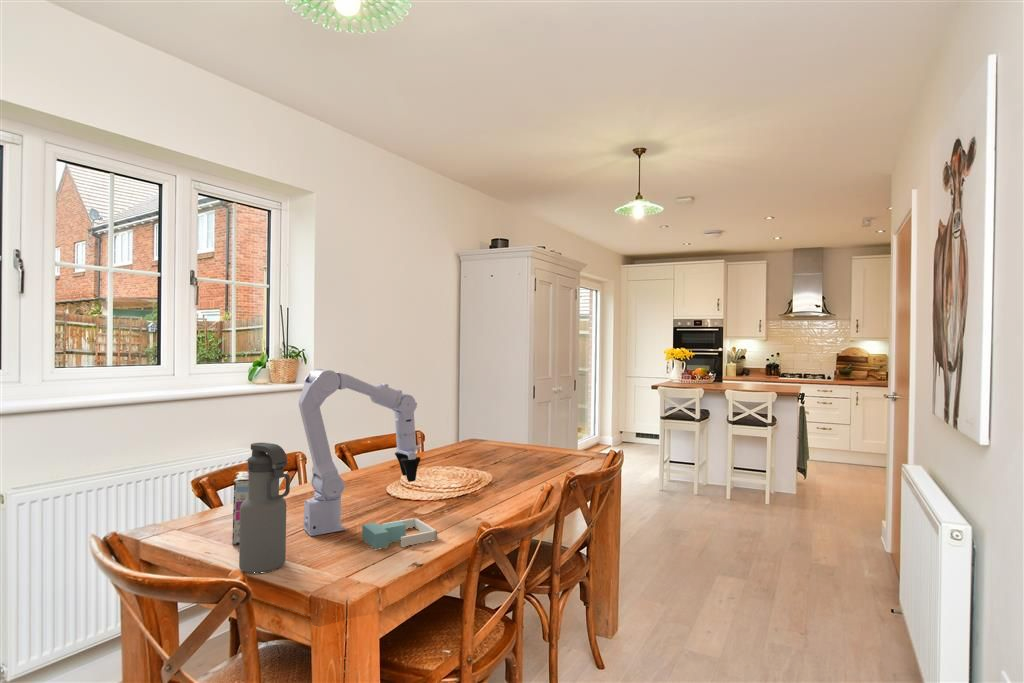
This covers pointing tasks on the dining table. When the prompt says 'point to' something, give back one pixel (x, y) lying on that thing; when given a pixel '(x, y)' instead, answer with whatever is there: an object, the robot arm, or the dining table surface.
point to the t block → (383, 533)
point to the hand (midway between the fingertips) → (408, 478)
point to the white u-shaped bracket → (425, 536)
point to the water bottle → (264, 511)
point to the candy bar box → (239, 502)
